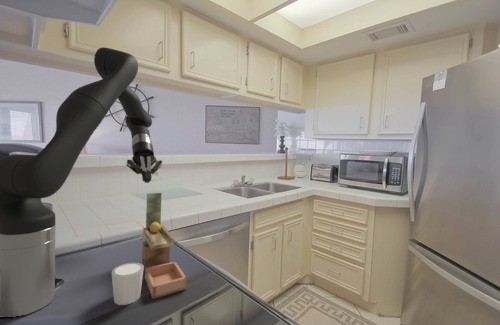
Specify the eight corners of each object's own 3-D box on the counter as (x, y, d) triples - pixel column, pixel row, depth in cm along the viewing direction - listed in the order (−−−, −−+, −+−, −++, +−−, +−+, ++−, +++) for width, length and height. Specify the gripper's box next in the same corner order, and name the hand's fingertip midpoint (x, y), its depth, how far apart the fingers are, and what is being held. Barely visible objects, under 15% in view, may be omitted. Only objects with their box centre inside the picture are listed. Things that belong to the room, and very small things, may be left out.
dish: (152, 299, 55) (152, 287, 55) (144, 278, 63) (145, 268, 63) (186, 289, 60) (186, 277, 59) (175, 271, 68) (175, 261, 68)
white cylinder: (129, 309, 51) (130, 278, 51) (103, 303, 53) (104, 273, 52) (149, 291, 58) (150, 264, 58) (125, 287, 59) (126, 260, 59)
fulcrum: (144, 271, 67) (145, 244, 67) (142, 264, 71) (142, 239, 71) (169, 265, 71) (169, 240, 71) (165, 259, 75) (166, 235, 75)
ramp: (151, 249, 62) (152, 202, 62) (142, 232, 74) (143, 193, 74) (173, 245, 66) (175, 200, 65) (161, 230, 78) (162, 192, 77)
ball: (150, 234, 70) (150, 224, 70) (148, 231, 73) (148, 221, 73) (161, 233, 72) (161, 223, 72) (159, 230, 75) (159, 220, 75)
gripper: (124, 139, 87) (128, 175, 77) (161, 141, 94) (168, 174, 85) (123, 153, 92) (125, 188, 82) (158, 154, 99) (164, 186, 89)
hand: (147, 181), depth 83 cm, fingers closed
